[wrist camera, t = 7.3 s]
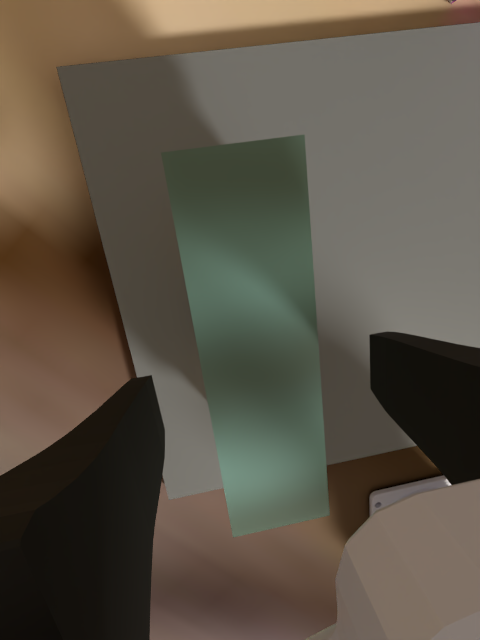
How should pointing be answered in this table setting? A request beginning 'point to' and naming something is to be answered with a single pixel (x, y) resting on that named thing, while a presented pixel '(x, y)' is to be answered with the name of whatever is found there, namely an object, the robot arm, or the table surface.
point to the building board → (324, 203)
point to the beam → (255, 322)
